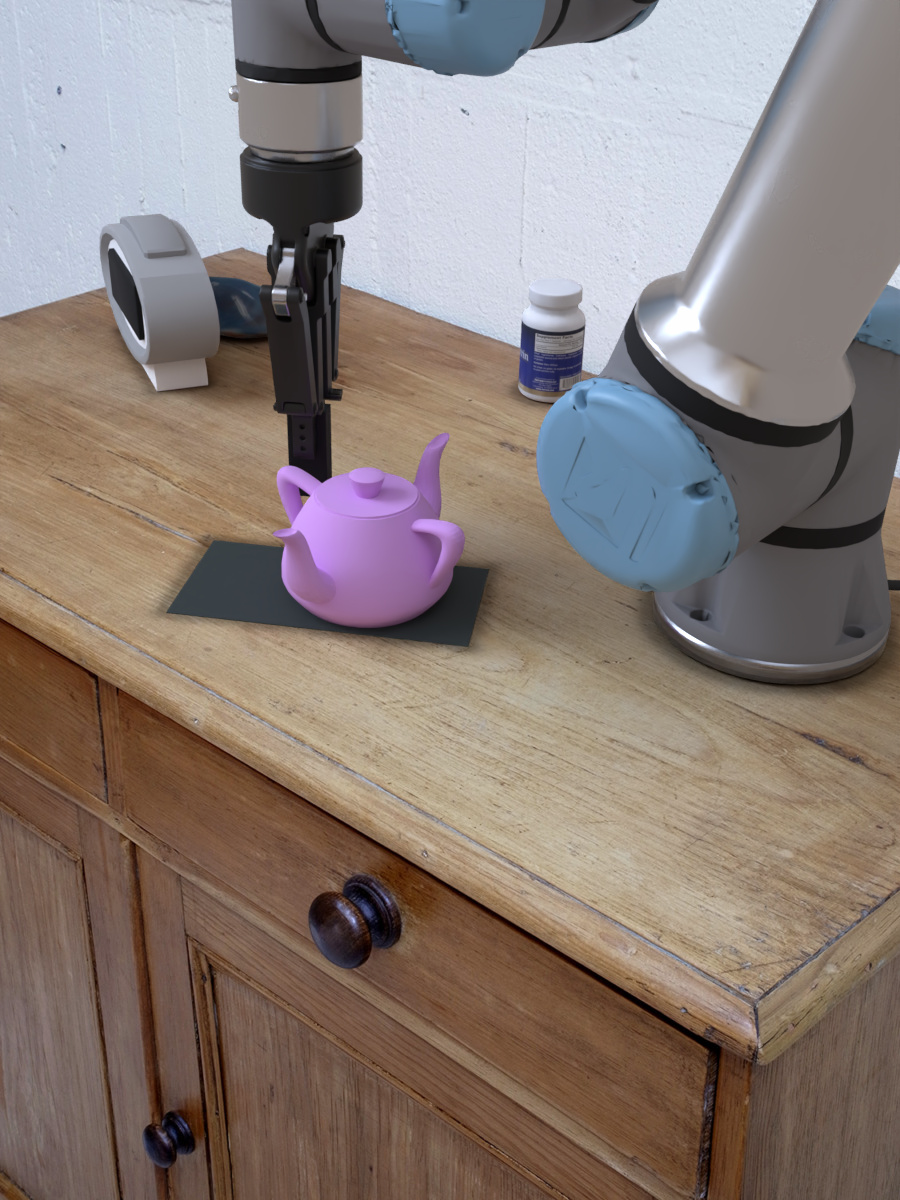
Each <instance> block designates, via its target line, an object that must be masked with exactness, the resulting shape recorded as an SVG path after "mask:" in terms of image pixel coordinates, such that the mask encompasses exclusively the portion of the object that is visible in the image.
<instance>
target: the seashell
mask: <svg viewBox="0 0 900 1200" xmlns="http://www.w3.org/2000/svg"><path fill="white" fill-rule="evenodd" d="M208 276H209V279H210V283H211V286H212V289H213V292H214V297H215V301H216V306H217V310H218V318H219V326H220V336H223V337H229V338H234V339H245V340H247V339H259V338H266V337H268V335H267V327H266V319H265V316H264V313H263V309H262V306H261V303H260V298H259V291H260V288H261V286H262V285H259V284H256V283H253V282H250V281H248V280H245V279H242V278H237V277H227V276H210V275H208Z"/></svg>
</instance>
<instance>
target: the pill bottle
mask: <svg viewBox="0 0 900 1200" xmlns="http://www.w3.org/2000/svg"><path fill="white" fill-rule="evenodd" d="M583 291H584V290H583V285H582V284H581V283H579V282H578V281H576V280H573V279H569V278H564V277H543V278H538V279H535V280H534V281H532V282H530V284H529V286H528V297H527V298H528V301H529V302H530V305H529V306H527V307H526V308H525V309H524V310H523V313H522V314H521V315H522V316H521V323H520V324H521V325H520V344H519V345H520V346H519V362H518V363H519V366H518V381H517V382H518V383H517V386H518V390H519V392H520V393H521V394H522V395H523V396H524V397H526V398H528V399H530V400H533V401H536V402H541V403H548V404H549V403H550V404H551V403H553V404H554V403H555V402H556V401H557V400H558V399H560V398H561V397H562V396H563V395H565V393H566V392H567V391H570V390H571V389H572V386H573V385H575V384H576V383H578V382H581V381H582V378H583V377H582V376H583V363H584V348H585V337H586V323H587V320H586V315H585V313H584V311H583V310H582V309H581V308H580V307H579V305H580V304H581V303H582V301H583Z"/></svg>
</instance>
